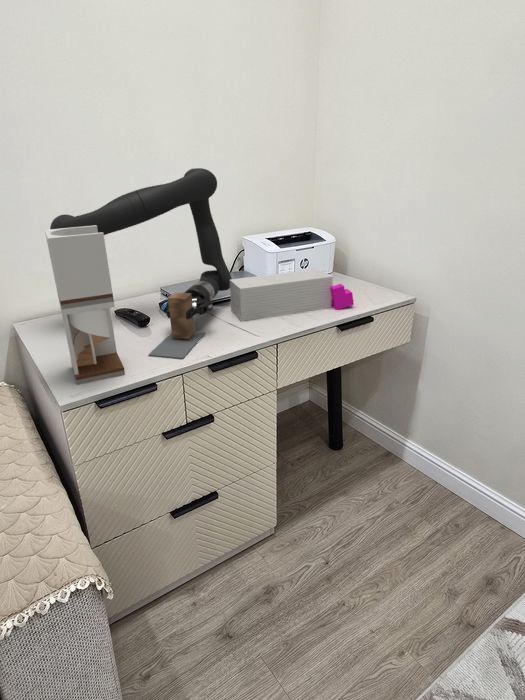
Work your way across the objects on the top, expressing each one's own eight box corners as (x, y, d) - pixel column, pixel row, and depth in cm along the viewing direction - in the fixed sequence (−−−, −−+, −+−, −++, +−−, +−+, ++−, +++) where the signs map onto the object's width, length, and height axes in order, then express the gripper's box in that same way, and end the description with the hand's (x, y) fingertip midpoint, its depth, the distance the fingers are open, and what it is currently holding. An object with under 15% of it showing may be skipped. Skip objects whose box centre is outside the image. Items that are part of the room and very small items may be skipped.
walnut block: (172, 337, 139) (167, 297, 134) (178, 331, 143) (175, 292, 138) (188, 339, 138) (184, 299, 133) (194, 332, 142) (191, 293, 137)
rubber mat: (148, 356, 131) (148, 354, 131) (174, 330, 147) (174, 329, 146) (183, 359, 129) (183, 357, 128) (206, 333, 144) (205, 332, 144)
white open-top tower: (77, 384, 117) (47, 238, 102) (72, 366, 126) (44, 230, 111) (125, 374, 121) (103, 233, 107) (117, 358, 130) (96, 225, 115)
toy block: (353, 304, 162) (351, 283, 158) (336, 310, 161) (333, 289, 157) (336, 291, 175) (333, 271, 171) (319, 295, 174) (316, 276, 170)
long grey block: (317, 298, 172) (317, 268, 168) (331, 307, 163) (332, 276, 159) (231, 310, 162) (229, 279, 157) (241, 321, 153) (240, 288, 148)
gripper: (176, 283, 150) (152, 301, 135) (220, 285, 147) (201, 304, 132) (178, 306, 153) (155, 326, 138) (221, 309, 150) (203, 329, 135)
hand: (177, 315), depth 135 cm, fingers closed on walnut block, 5 cm apart
